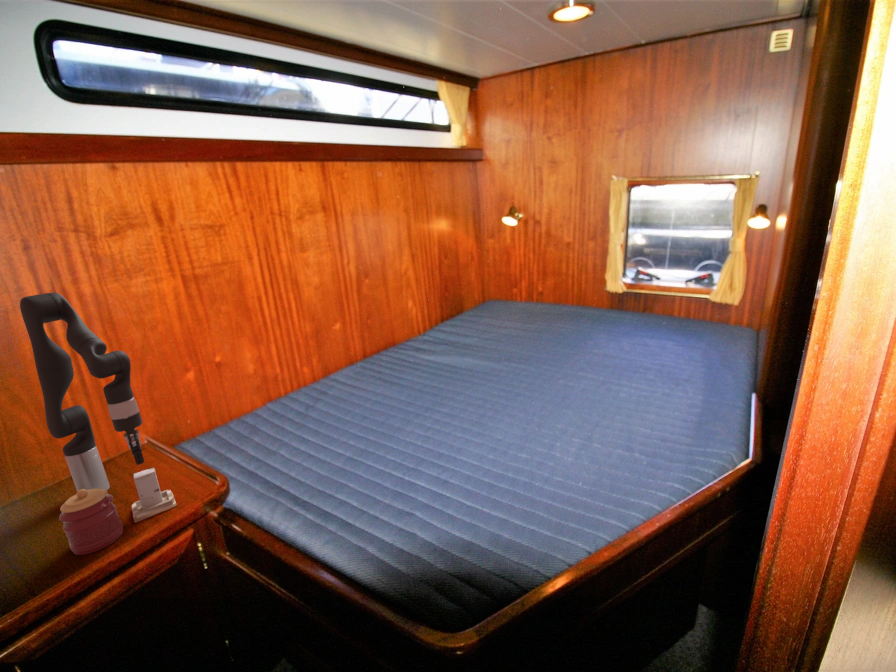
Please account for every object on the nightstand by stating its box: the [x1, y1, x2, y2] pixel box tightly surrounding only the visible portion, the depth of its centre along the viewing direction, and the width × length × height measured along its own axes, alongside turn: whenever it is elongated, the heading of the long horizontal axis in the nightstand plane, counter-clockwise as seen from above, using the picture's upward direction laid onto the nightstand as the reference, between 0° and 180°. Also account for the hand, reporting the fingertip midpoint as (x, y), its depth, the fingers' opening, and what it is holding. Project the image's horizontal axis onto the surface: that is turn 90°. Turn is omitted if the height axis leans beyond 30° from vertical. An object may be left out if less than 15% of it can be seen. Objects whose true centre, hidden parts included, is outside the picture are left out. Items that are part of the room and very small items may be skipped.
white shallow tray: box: [131, 489, 178, 524], centre depth 153 cm, size 10×12×2 cm
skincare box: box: [133, 467, 163, 510], centre depth 151 cm, size 6×4×12 cm
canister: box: [58, 489, 124, 556], centre depth 136 cm, size 13×13×18 cm
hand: (140, 462), depth 149 cm, fingers closed
